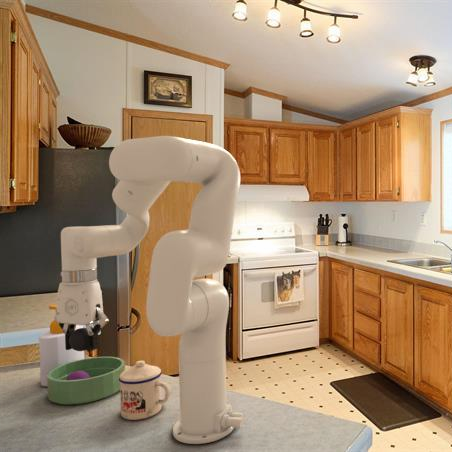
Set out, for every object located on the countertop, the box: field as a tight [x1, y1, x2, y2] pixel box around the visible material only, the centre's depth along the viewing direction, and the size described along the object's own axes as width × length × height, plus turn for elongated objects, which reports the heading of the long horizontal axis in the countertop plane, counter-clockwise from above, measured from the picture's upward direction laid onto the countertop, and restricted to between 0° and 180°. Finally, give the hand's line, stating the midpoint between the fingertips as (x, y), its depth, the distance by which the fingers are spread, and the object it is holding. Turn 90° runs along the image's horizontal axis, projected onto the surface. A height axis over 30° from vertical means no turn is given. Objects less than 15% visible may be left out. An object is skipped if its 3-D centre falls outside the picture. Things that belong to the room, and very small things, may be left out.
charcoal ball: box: [69, 327, 89, 352], centre depth 107 cm, size 6×6×6 cm
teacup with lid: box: [119, 360, 171, 421], centre depth 99 cm, size 12×9×12 cm
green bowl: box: [46, 356, 126, 406], centre depth 111 cm, size 18×18×6 cm
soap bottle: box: [38, 304, 85, 387], centre depth 121 cm, size 13×8×20 cm, turn 169°
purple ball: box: [66, 371, 90, 380], centre depth 108 cm, size 6×6×6 cm
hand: (82, 348), depth 107 cm, fingers closed on charcoal ball, 5 cm apart
